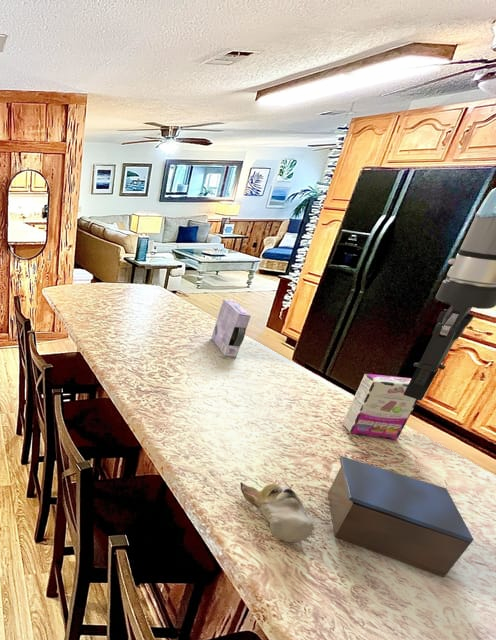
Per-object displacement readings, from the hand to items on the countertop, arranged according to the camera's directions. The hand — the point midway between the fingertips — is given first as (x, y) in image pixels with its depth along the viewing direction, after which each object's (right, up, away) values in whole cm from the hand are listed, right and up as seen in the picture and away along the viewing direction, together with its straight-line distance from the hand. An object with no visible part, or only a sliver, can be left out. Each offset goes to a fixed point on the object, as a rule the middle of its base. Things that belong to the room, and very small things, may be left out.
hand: (412, 396), depth 78 cm
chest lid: (-9, -18, -5) cm, 21 cm away
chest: (-8, -26, -2) cm, 28 cm away
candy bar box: (+17, -13, +28) cm, 35 cm away
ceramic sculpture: (-28, -25, 0) cm, 38 cm away
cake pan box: (+3, +12, +77) cm, 78 cm away
